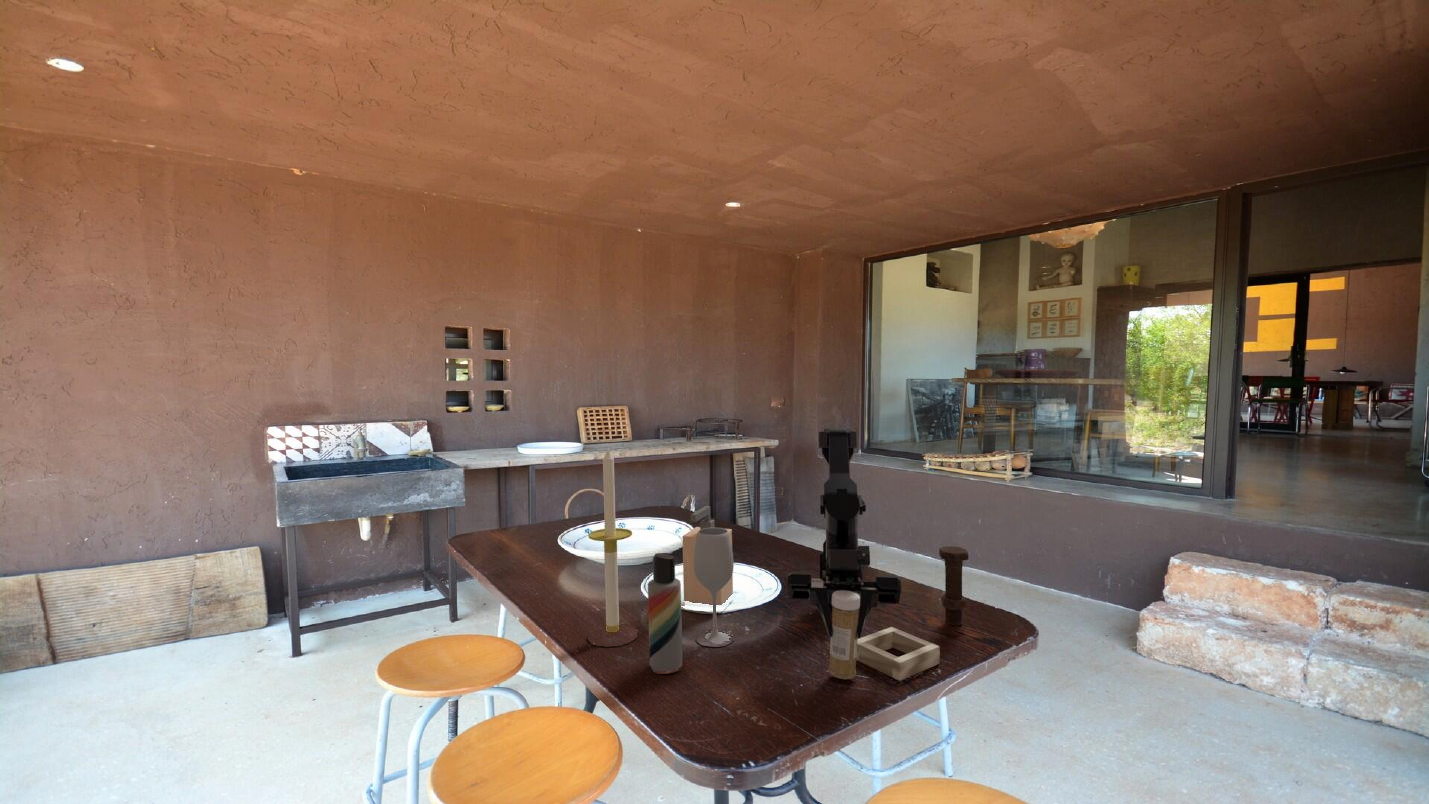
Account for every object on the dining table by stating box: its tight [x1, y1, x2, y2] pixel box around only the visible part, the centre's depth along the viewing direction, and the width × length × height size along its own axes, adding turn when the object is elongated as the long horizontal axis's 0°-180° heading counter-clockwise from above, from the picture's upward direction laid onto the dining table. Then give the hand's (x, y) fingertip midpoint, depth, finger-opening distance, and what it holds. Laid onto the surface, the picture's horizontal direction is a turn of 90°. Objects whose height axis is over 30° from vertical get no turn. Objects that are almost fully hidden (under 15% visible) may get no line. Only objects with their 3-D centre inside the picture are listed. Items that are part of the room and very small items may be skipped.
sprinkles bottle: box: [828, 590, 861, 680], centre depth 103 cm, size 5×5×14 cm
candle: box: [587, 448, 633, 632], centre depth 121 cm, size 10×10×38 cm
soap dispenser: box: [682, 505, 734, 605], centre depth 136 cm, size 13×9×22 cm
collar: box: [856, 626, 941, 682], centre depth 110 cm, size 10×10×3 cm
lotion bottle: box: [647, 552, 683, 671], centre depth 108 cm, size 6×6×20 cm
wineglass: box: [694, 527, 735, 644], centre depth 119 cm, size 8×8×21 cm
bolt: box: [938, 545, 969, 626], centre depth 125 cm, size 6×5×15 cm
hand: (844, 636), depth 102 cm, fingers closed on sprinkles bottle, 4 cm apart
